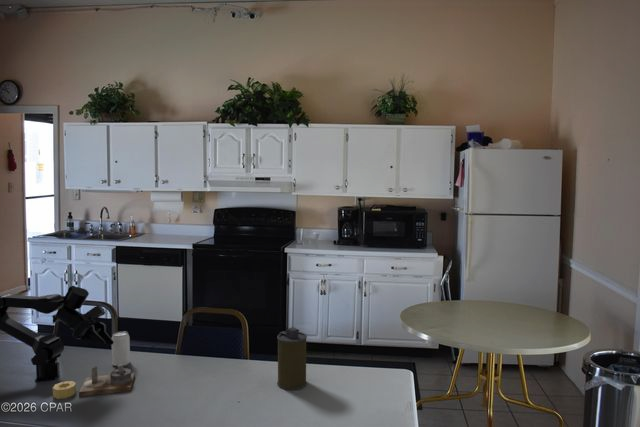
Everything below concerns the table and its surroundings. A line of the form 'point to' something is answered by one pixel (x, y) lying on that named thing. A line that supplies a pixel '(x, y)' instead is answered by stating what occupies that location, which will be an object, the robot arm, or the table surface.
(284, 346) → the canister
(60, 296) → the robot arm
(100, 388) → the gear board
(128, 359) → the can
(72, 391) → the tan ring
